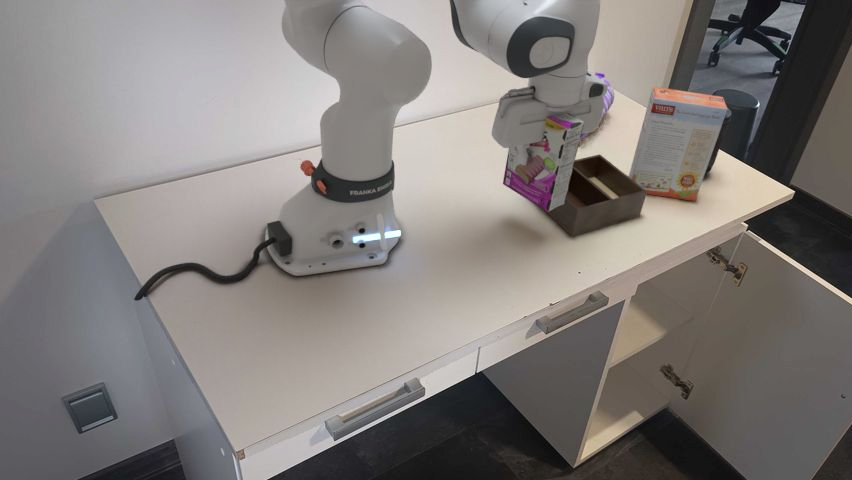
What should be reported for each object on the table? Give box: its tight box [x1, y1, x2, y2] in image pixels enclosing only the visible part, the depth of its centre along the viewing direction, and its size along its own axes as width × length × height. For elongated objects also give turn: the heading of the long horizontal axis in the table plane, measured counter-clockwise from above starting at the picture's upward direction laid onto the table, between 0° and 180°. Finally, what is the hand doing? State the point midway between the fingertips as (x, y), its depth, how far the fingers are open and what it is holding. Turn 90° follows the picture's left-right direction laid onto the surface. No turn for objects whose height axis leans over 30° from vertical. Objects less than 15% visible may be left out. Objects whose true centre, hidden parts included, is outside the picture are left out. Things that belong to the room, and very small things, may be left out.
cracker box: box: [628, 86, 728, 202], centre depth 136 cm, size 14×6×21 cm, turn 84°
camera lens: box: [703, 107, 732, 179], centre depth 146 cm, size 8×8×15 cm
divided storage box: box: [542, 154, 648, 237], centre depth 133 cm, size 17×15×6 cm
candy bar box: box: [502, 113, 584, 213], centre depth 117 cm, size 11×5×16 cm, turn 47°
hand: (540, 159), depth 117 cm, fingers closed on candy bar box, 5 cm apart
